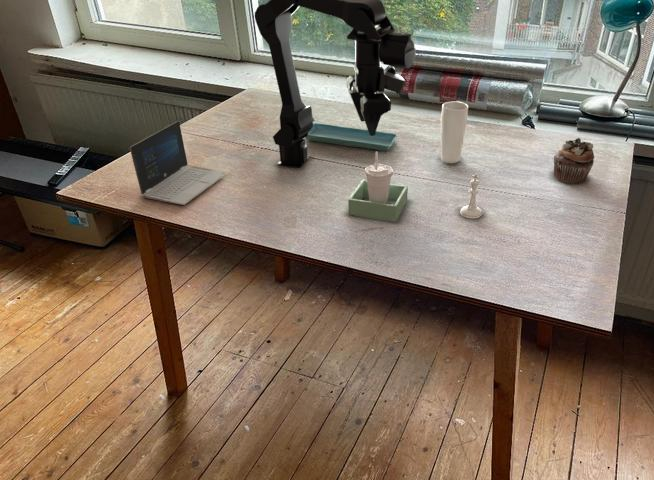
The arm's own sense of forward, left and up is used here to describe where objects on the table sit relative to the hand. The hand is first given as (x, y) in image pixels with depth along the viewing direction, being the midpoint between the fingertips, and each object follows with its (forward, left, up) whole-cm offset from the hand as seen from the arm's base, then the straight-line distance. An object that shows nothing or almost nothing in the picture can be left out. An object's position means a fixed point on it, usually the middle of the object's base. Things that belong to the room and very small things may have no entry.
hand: (367, 128), depth 137 cm
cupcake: (+49, +17, -14) cm, 53 cm away
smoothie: (+7, -13, -14) cm, 20 cm away
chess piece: (+28, -9, -14) cm, 32 cm away
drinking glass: (+18, +18, -14) cm, 29 cm away
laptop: (-42, -17, -14) cm, 48 cm away
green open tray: (+7, -13, -14) cm, 20 cm away
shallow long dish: (-12, +22, -14) cm, 29 cm away
